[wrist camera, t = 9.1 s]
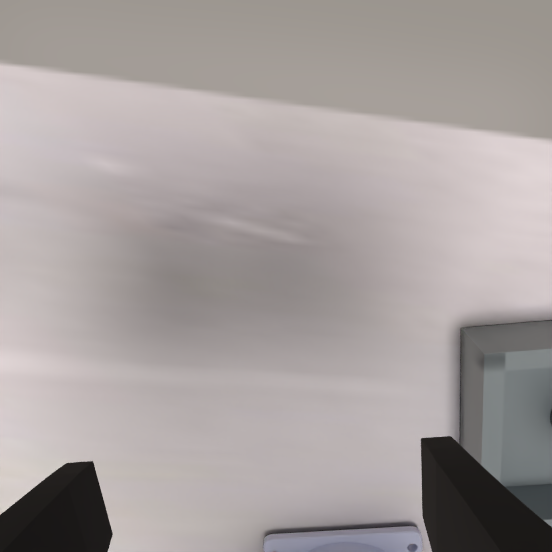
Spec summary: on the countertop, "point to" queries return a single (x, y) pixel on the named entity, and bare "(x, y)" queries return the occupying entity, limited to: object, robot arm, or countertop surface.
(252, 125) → the countertop surface
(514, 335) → the tray
